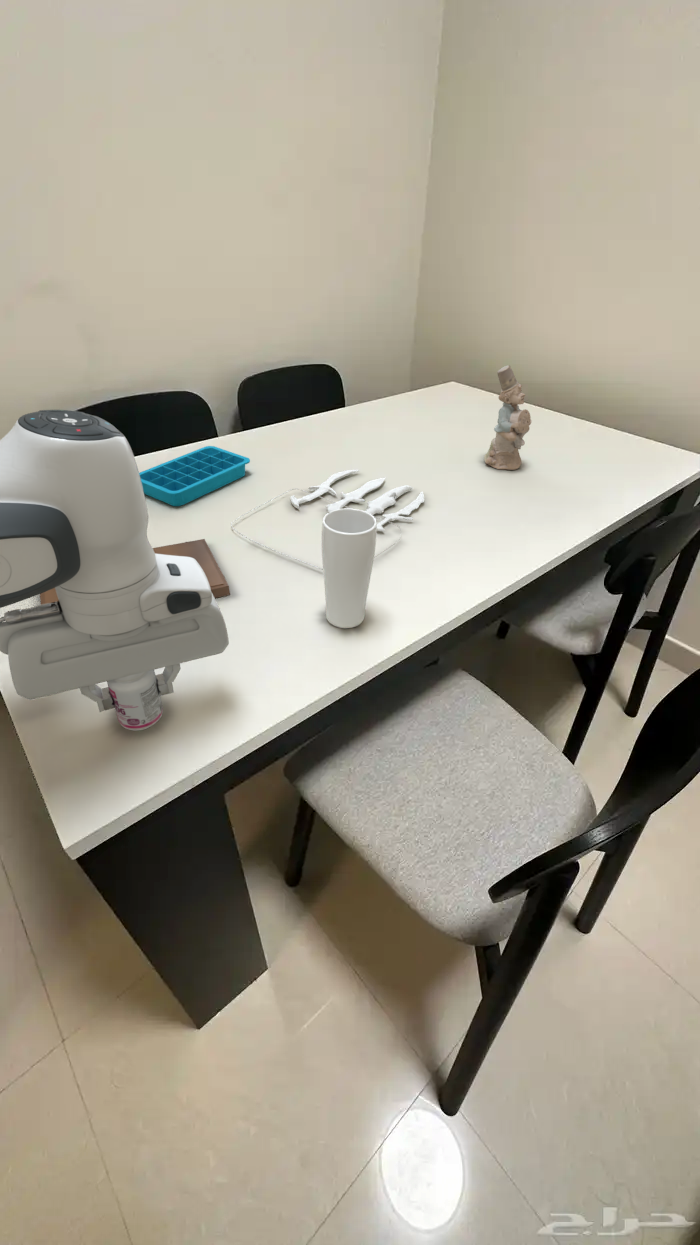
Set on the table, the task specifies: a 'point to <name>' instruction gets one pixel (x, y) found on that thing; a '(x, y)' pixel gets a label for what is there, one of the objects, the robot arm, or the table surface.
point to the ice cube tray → (193, 475)
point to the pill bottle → (136, 700)
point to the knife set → (355, 496)
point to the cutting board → (187, 549)
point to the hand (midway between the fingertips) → (137, 698)
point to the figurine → (509, 424)
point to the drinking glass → (347, 564)
